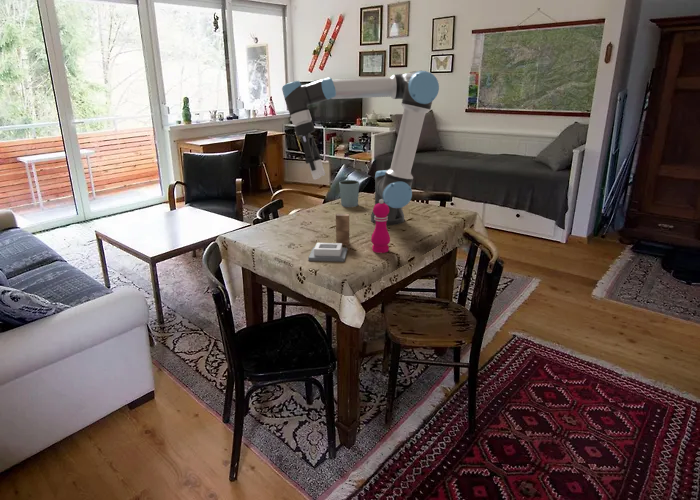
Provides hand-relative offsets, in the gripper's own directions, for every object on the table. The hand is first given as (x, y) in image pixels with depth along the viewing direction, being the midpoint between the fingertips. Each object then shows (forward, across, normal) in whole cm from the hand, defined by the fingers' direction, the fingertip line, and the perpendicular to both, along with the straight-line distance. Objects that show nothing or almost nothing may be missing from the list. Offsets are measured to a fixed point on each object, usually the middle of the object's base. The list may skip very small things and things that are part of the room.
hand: (319, 177), depth 183 cm
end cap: (+28, +18, -3) cm, 33 cm away
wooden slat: (+27, +5, +2) cm, 28 cm away
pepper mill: (+33, +11, +16) cm, 38 cm away
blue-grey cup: (+20, -54, +1) cm, 58 cm away
